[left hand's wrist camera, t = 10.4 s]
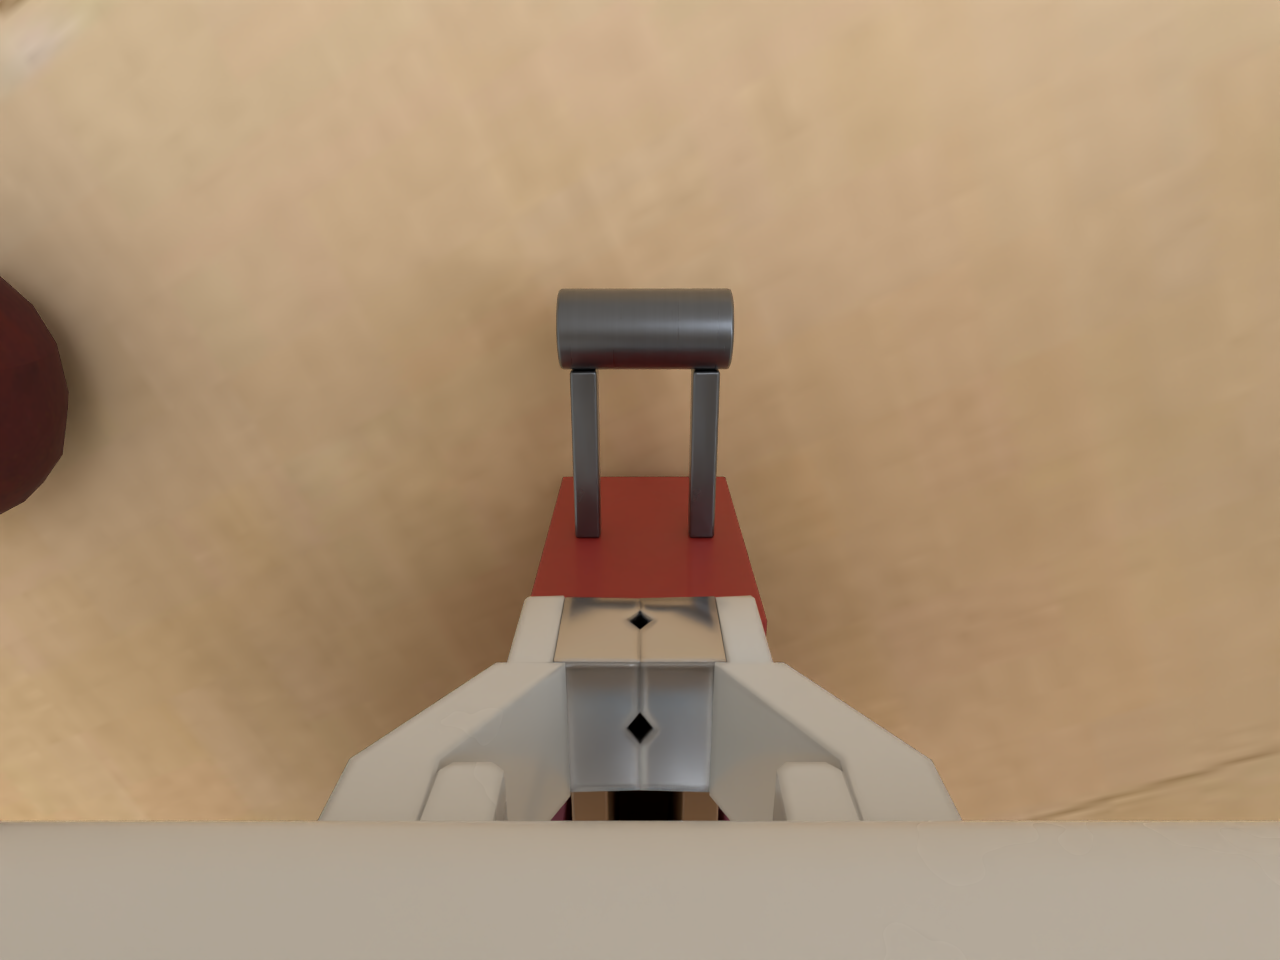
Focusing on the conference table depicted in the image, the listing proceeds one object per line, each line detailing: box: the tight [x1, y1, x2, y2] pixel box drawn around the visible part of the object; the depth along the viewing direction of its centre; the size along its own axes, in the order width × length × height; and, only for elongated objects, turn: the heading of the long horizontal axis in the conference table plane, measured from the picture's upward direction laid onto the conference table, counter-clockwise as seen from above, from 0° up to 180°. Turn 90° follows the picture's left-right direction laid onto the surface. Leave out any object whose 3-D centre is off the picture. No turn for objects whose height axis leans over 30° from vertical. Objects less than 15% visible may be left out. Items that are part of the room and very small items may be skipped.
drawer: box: [531, 289, 767, 821], centre depth 21 cm, size 25×5×8 cm, turn 0°
